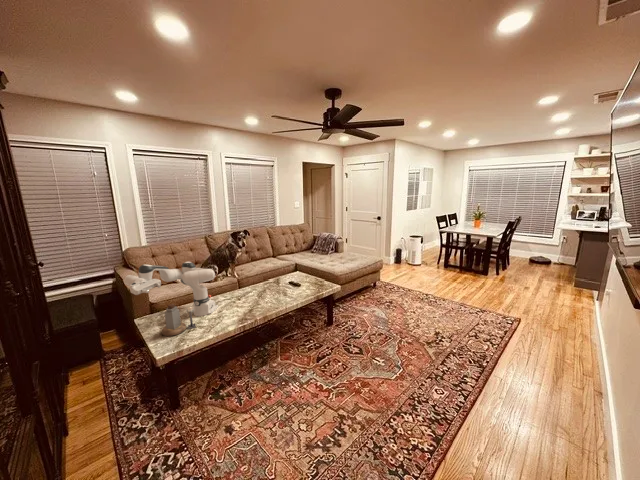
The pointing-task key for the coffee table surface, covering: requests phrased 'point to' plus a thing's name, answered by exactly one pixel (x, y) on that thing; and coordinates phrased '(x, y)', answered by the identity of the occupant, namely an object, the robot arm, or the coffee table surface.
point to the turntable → (174, 332)
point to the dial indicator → (190, 310)
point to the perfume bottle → (172, 317)
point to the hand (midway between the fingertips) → (154, 289)
